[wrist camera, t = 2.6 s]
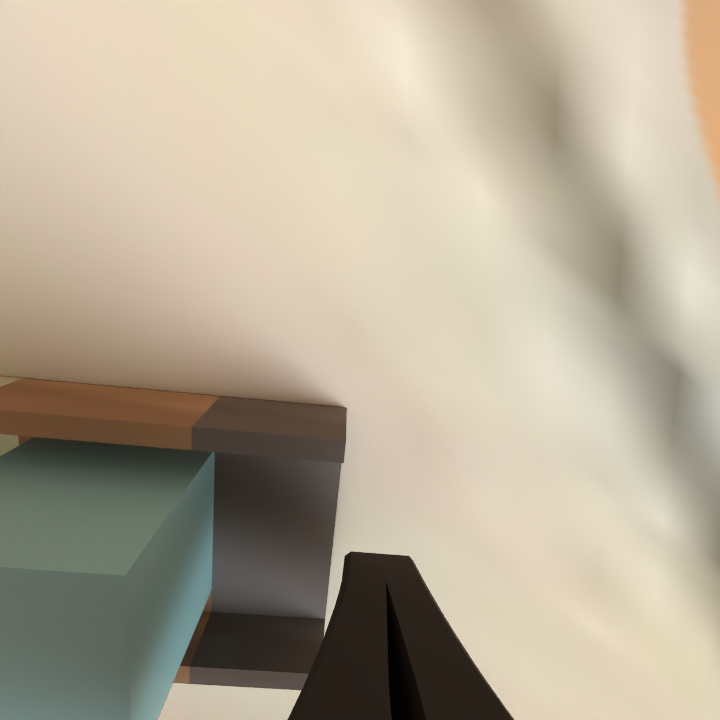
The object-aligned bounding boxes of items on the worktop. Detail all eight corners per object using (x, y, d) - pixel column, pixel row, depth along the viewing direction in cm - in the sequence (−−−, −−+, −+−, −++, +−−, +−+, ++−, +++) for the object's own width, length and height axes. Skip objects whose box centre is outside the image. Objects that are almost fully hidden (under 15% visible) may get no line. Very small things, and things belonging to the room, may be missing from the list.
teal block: (211, 589, 11) (132, 780, 7) (52, 578, 10) (-123, 767, 7) (215, 448, 10) (125, 575, 6) (40, 433, 10) (-173, 554, 6)
